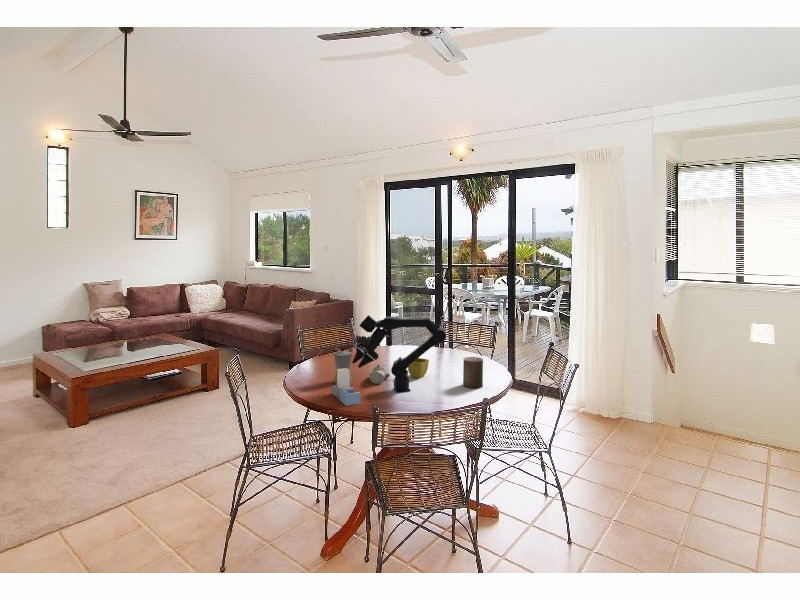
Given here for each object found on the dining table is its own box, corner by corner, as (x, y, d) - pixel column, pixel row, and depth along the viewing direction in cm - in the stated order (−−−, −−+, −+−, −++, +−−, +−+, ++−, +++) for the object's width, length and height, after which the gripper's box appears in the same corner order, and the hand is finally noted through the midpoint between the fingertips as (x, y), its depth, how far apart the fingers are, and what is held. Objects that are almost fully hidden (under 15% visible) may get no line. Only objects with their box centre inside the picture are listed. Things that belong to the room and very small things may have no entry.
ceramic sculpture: (365, 367, 243) (370, 361, 258) (365, 384, 244) (370, 378, 259) (387, 368, 242) (390, 362, 257) (386, 385, 243) (390, 378, 258)
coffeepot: (345, 386, 242) (345, 351, 239) (328, 384, 245) (328, 349, 243) (359, 378, 256) (358, 344, 253) (343, 376, 259) (342, 343, 257)
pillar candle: (482, 389, 237) (483, 359, 235) (462, 388, 239) (462, 358, 237) (482, 383, 247) (483, 354, 245) (463, 382, 249) (464, 353, 247)
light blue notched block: (353, 397, 225) (353, 385, 224) (360, 403, 217) (360, 390, 216) (339, 399, 222) (339, 387, 221) (345, 405, 214) (345, 392, 213)
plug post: (346, 393, 231) (346, 368, 229) (349, 396, 227) (349, 370, 225) (337, 395, 229) (337, 369, 227) (340, 397, 225) (340, 371, 223)
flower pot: (429, 375, 260) (429, 359, 259) (421, 379, 253) (421, 363, 252) (415, 373, 265) (415, 357, 264) (406, 377, 258) (406, 360, 256)
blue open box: (345, 391, 234) (345, 383, 233) (354, 398, 224) (354, 390, 223) (332, 393, 231) (332, 385, 230) (340, 400, 221) (340, 392, 220)
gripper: (357, 325, 239) (337, 351, 236) (369, 331, 221) (348, 359, 219) (374, 339, 242) (354, 364, 240) (387, 346, 225) (366, 373, 223)
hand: (355, 365), depth 230 cm, fingers open, 9 cm apart
